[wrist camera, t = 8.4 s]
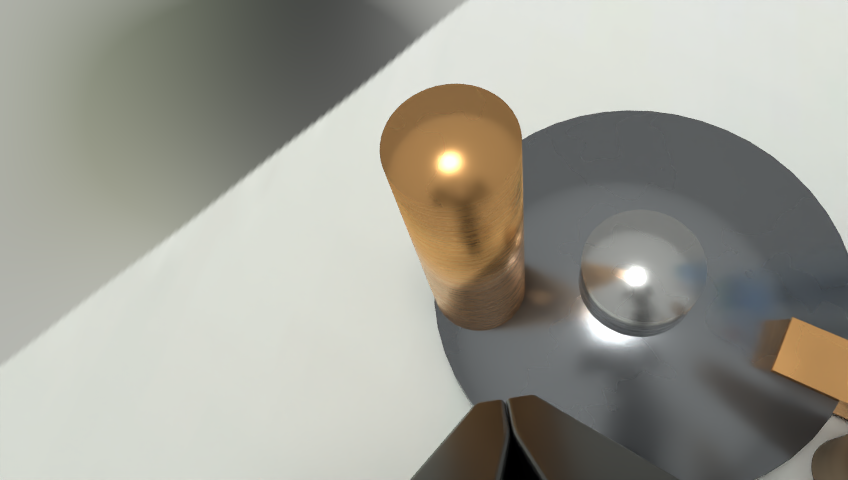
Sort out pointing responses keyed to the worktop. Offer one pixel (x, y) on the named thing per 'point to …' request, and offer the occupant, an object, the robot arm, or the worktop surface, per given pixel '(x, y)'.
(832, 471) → the dowel post
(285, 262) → the worktop surface
